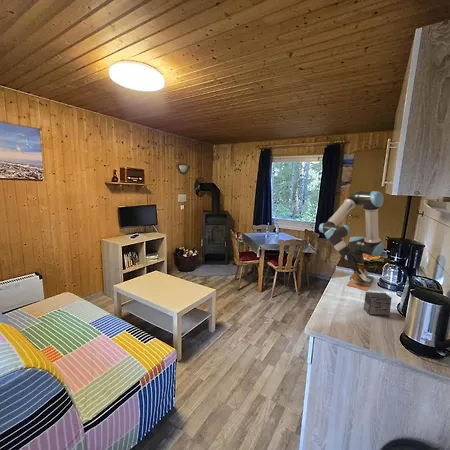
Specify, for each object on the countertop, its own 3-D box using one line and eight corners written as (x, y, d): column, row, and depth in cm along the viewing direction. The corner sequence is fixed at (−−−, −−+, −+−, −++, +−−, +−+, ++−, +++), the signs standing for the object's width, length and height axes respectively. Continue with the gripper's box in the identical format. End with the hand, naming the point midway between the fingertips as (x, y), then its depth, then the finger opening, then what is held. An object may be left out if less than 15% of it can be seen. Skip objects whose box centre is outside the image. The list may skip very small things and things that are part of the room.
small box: (383, 310, 130) (385, 292, 129) (390, 316, 124) (392, 298, 122) (362, 308, 131) (365, 291, 130) (368, 315, 125) (371, 296, 123)
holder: (354, 274, 181) (354, 272, 180) (374, 279, 172) (374, 277, 172) (349, 279, 171) (349, 277, 171) (370, 285, 163) (370, 282, 162)
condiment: (350, 278, 165) (352, 262, 163) (362, 279, 164) (365, 262, 163) (355, 282, 158) (357, 265, 156) (368, 283, 157) (370, 266, 155)
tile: (351, 280, 170) (351, 279, 170) (370, 285, 162) (370, 284, 162) (346, 285, 161) (346, 284, 161) (366, 291, 153) (366, 289, 153)
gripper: (342, 248, 175) (364, 275, 167) (333, 253, 161) (357, 283, 153) (350, 243, 171) (373, 270, 163) (342, 247, 157) (367, 278, 149)
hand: (365, 276), depth 158 cm, fingers closed on condiment, 6 cm apart
